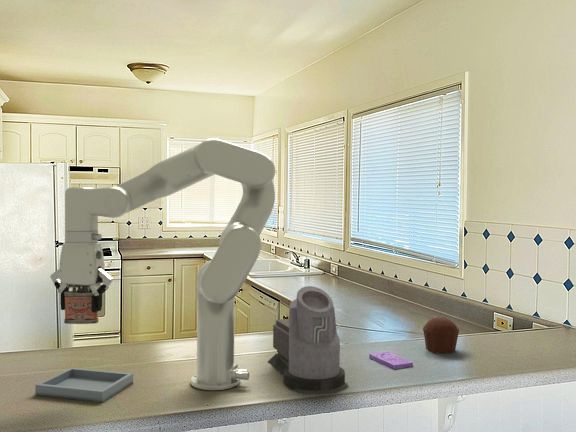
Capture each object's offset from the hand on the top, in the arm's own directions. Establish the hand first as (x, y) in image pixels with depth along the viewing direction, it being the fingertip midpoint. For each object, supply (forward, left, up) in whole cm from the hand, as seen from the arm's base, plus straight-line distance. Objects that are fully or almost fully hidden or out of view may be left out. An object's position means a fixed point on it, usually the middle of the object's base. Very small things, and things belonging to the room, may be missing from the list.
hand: (81, 309), depth 137 cm
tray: (0, -2, -20) cm, 20 cm away
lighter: (0, 0, -3) cm, 3 cm away
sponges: (-72, -46, -21) cm, 88 cm away
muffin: (-86, -64, -20) cm, 109 cm away
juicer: (-50, -27, -20) cm, 61 cm away
